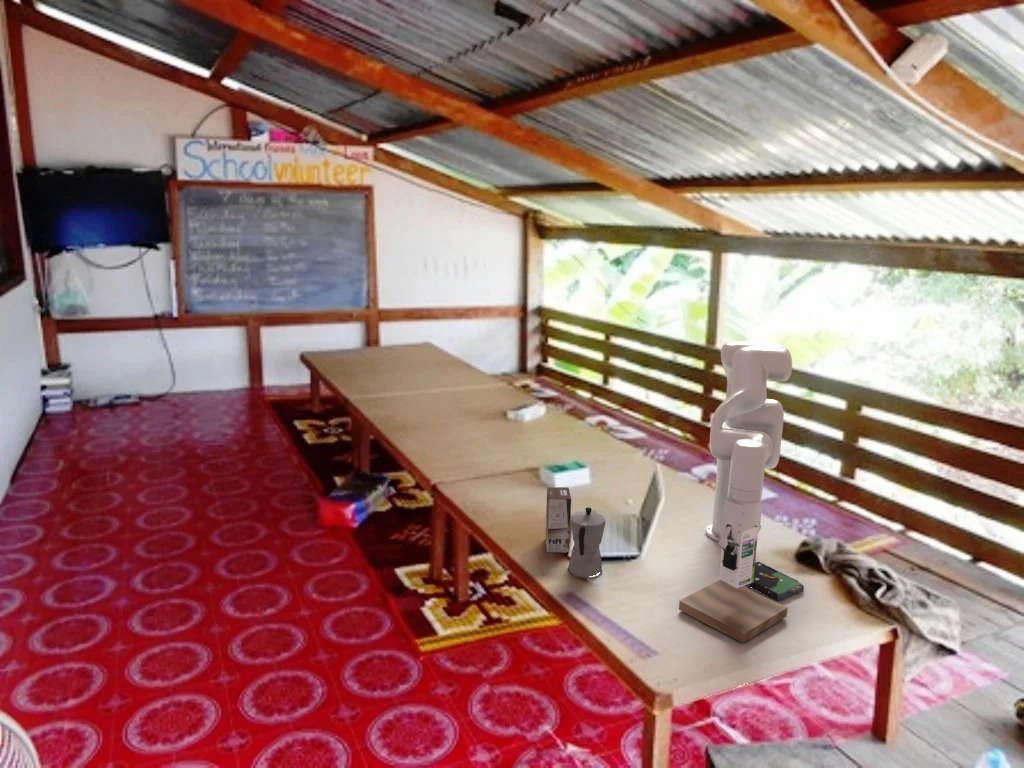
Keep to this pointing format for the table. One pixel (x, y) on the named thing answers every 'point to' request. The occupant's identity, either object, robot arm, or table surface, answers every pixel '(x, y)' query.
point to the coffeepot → (586, 543)
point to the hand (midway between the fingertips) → (737, 563)
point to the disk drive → (774, 583)
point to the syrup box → (742, 560)
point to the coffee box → (558, 519)
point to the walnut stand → (733, 610)
